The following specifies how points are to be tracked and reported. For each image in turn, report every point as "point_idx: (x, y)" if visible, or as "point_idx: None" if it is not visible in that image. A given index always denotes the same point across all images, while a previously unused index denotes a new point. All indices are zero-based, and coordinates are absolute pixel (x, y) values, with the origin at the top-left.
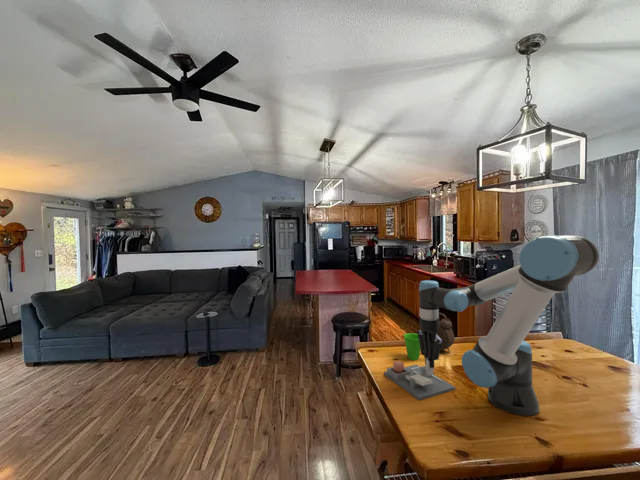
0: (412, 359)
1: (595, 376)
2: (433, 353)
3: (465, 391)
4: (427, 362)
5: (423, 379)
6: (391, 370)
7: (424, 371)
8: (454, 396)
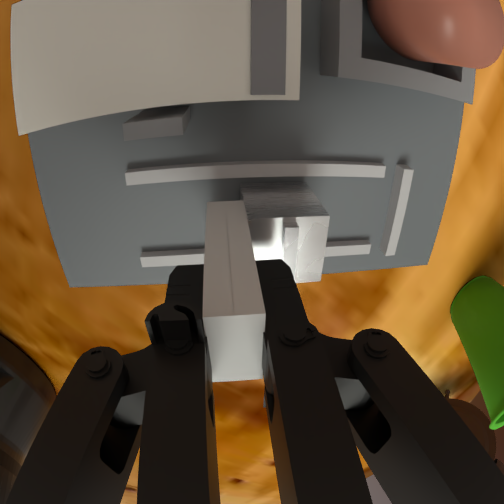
0: (469, 285)
1: (126, 499)
2: (62, 461)
3: (55, 306)
4: (224, 284)
5: (66, 51)
6: None
7: (263, 205)
8: (12, 220)
